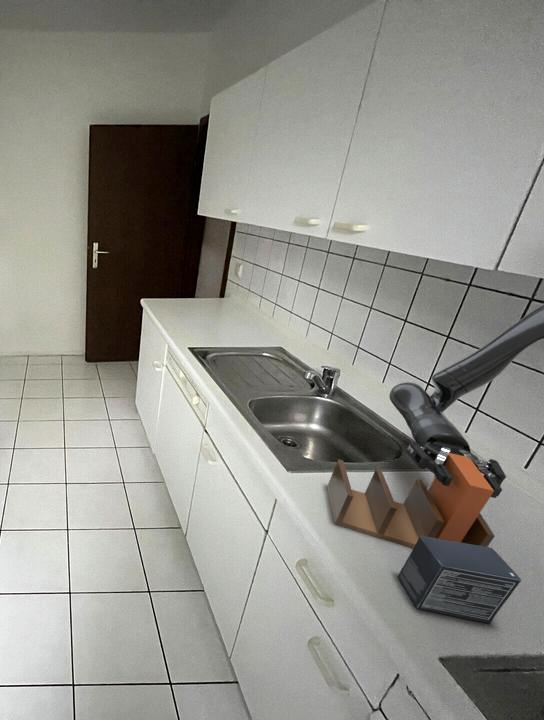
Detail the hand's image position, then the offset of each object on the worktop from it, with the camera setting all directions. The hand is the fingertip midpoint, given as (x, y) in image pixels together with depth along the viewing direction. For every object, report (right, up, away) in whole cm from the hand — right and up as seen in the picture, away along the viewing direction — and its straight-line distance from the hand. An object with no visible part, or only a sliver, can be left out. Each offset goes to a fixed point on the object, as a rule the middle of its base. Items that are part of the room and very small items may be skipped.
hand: (471, 487), depth 70 cm
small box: (-10, -18, -4) cm, 21 cm away
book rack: (-6, -11, +10) cm, 16 cm away
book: (+1, -11, +8) cm, 13 cm away
